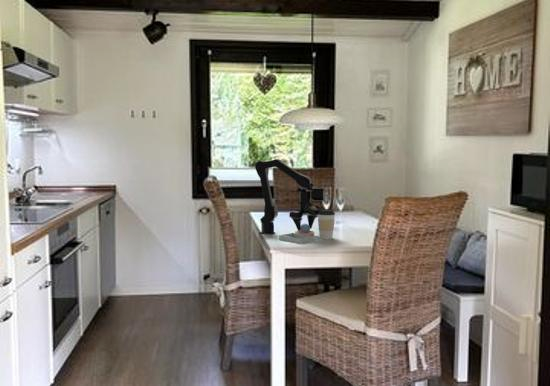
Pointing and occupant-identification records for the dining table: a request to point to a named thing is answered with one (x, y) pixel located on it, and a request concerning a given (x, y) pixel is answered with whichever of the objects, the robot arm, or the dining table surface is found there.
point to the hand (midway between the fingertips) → (304, 229)
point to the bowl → (311, 233)
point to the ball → (304, 228)
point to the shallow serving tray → (302, 238)
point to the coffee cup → (326, 223)
